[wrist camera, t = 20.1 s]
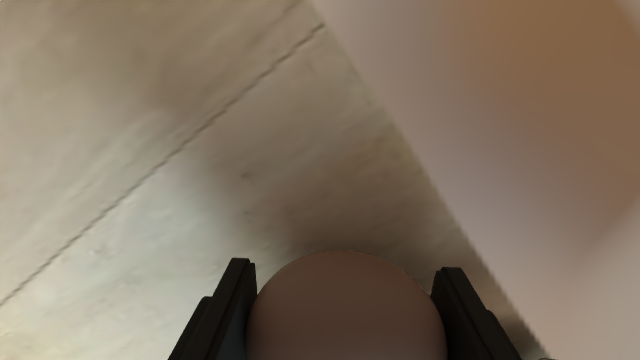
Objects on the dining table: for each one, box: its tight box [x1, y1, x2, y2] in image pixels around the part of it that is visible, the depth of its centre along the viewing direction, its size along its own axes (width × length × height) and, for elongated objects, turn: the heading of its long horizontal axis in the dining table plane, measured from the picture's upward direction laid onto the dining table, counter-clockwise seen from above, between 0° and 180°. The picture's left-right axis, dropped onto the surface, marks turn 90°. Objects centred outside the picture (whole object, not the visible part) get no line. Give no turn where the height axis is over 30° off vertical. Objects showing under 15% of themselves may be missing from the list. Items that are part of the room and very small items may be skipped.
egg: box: [245, 250, 448, 360], centre depth 9 cm, size 6×6×4 cm
